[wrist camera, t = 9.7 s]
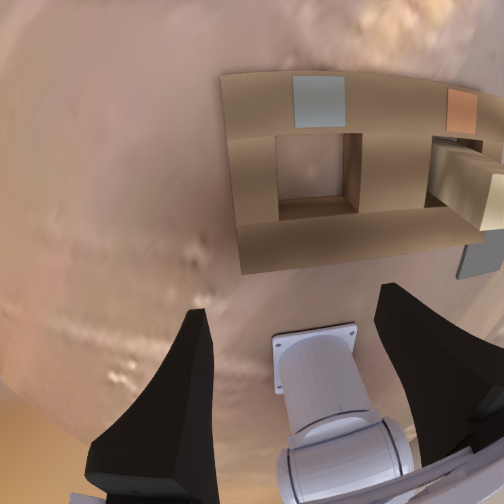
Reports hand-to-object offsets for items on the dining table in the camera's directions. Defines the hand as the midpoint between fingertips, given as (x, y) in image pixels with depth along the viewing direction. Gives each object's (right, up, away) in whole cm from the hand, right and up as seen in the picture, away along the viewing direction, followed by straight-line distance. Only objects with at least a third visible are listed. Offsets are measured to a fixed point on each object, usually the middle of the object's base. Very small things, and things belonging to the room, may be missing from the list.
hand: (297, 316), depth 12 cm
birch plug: (+12, +9, +8) cm, 17 cm away
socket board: (+7, +9, +8) cm, 13 cm away
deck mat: (+22, +3, +13) cm, 25 cm away
